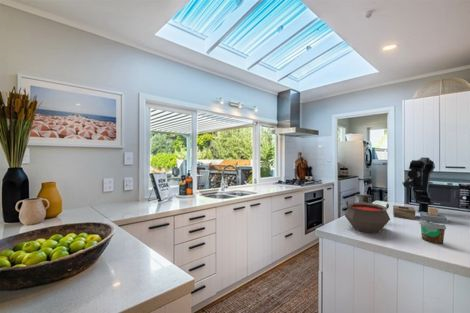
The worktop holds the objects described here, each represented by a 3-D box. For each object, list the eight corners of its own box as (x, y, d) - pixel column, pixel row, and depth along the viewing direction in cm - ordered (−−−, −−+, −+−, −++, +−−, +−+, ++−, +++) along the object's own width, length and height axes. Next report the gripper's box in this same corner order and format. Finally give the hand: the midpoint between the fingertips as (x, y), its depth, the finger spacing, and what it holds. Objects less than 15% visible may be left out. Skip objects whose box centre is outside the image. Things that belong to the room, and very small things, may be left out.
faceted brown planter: (345, 232, 128) (346, 204, 128) (342, 220, 150) (343, 196, 150) (396, 239, 119) (396, 208, 119) (385, 225, 141) (385, 199, 141)
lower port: (420, 216, 162) (420, 211, 162) (442, 219, 155) (442, 214, 155) (422, 220, 152) (423, 215, 151) (447, 223, 145) (447, 218, 145)
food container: (412, 236, 123) (412, 218, 123) (423, 236, 123) (423, 217, 123) (434, 245, 111) (434, 225, 110) (445, 245, 111) (446, 225, 111)
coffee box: (367, 216, 160) (368, 194, 160) (372, 219, 154) (372, 195, 153) (354, 216, 161) (354, 193, 161) (358, 219, 155) (358, 195, 154)
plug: (428, 217, 156) (428, 207, 156) (436, 218, 154) (436, 207, 154) (429, 218, 153) (429, 208, 153) (437, 219, 150) (438, 209, 150)
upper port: (393, 213, 170) (393, 205, 170) (413, 215, 164) (413, 207, 164) (393, 216, 160) (393, 208, 160) (415, 219, 154) (415, 210, 154)
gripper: (402, 175, 176) (401, 195, 176) (404, 178, 160) (404, 199, 161) (420, 176, 170) (420, 197, 170) (424, 179, 154) (424, 201, 155)
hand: (416, 198), depth 164 cm, fingers open, 9 cm apart
